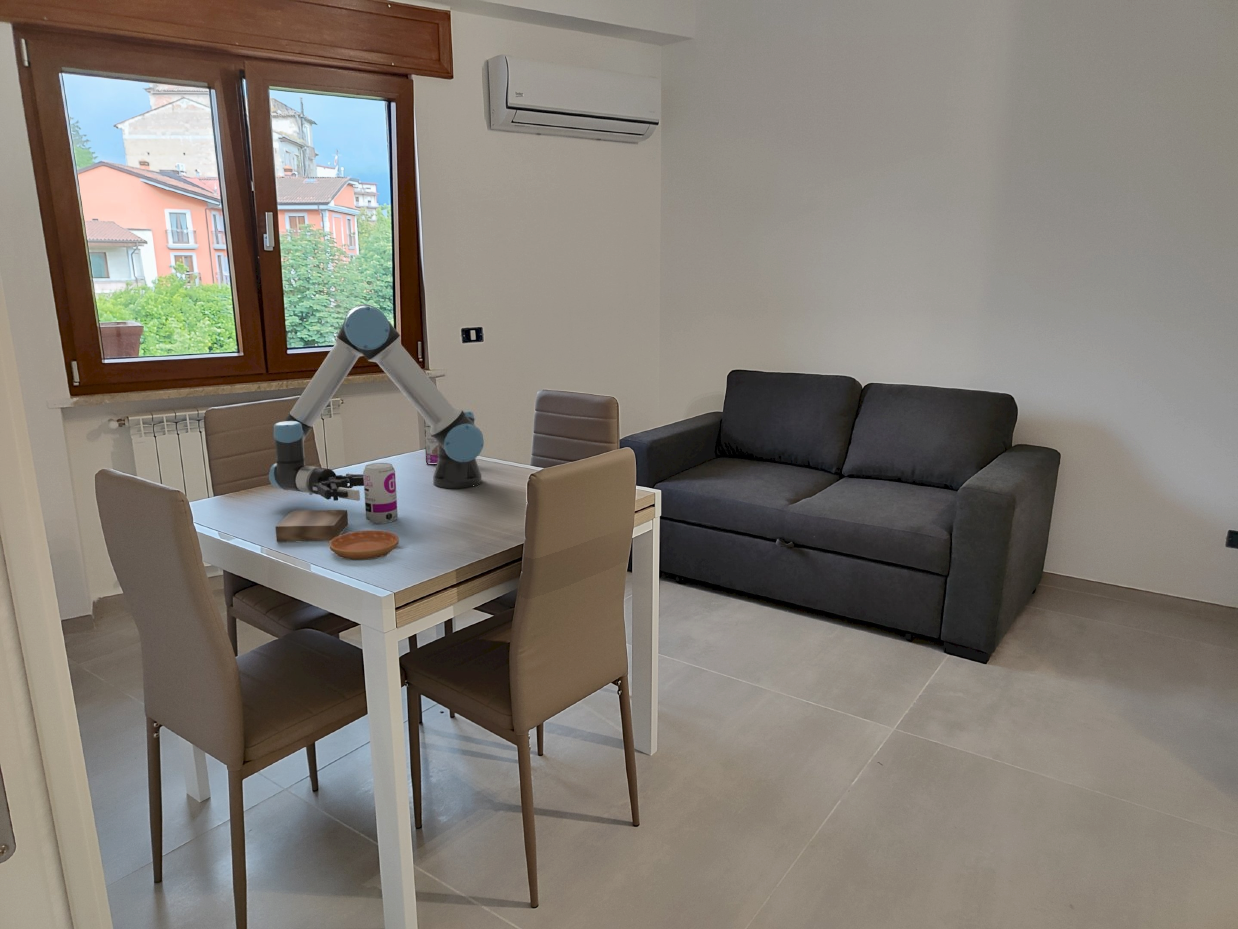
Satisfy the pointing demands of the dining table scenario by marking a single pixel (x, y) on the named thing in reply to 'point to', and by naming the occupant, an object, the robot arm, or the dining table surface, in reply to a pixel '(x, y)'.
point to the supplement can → (380, 492)
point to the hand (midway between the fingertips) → (376, 489)
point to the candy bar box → (430, 445)
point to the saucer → (364, 544)
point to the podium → (312, 525)
